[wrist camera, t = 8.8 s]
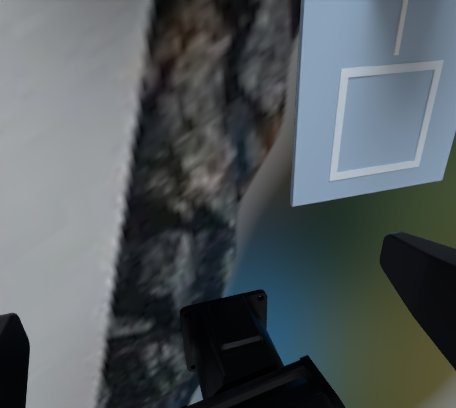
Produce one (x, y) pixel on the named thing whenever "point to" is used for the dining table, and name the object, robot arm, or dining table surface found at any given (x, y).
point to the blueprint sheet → (372, 96)
